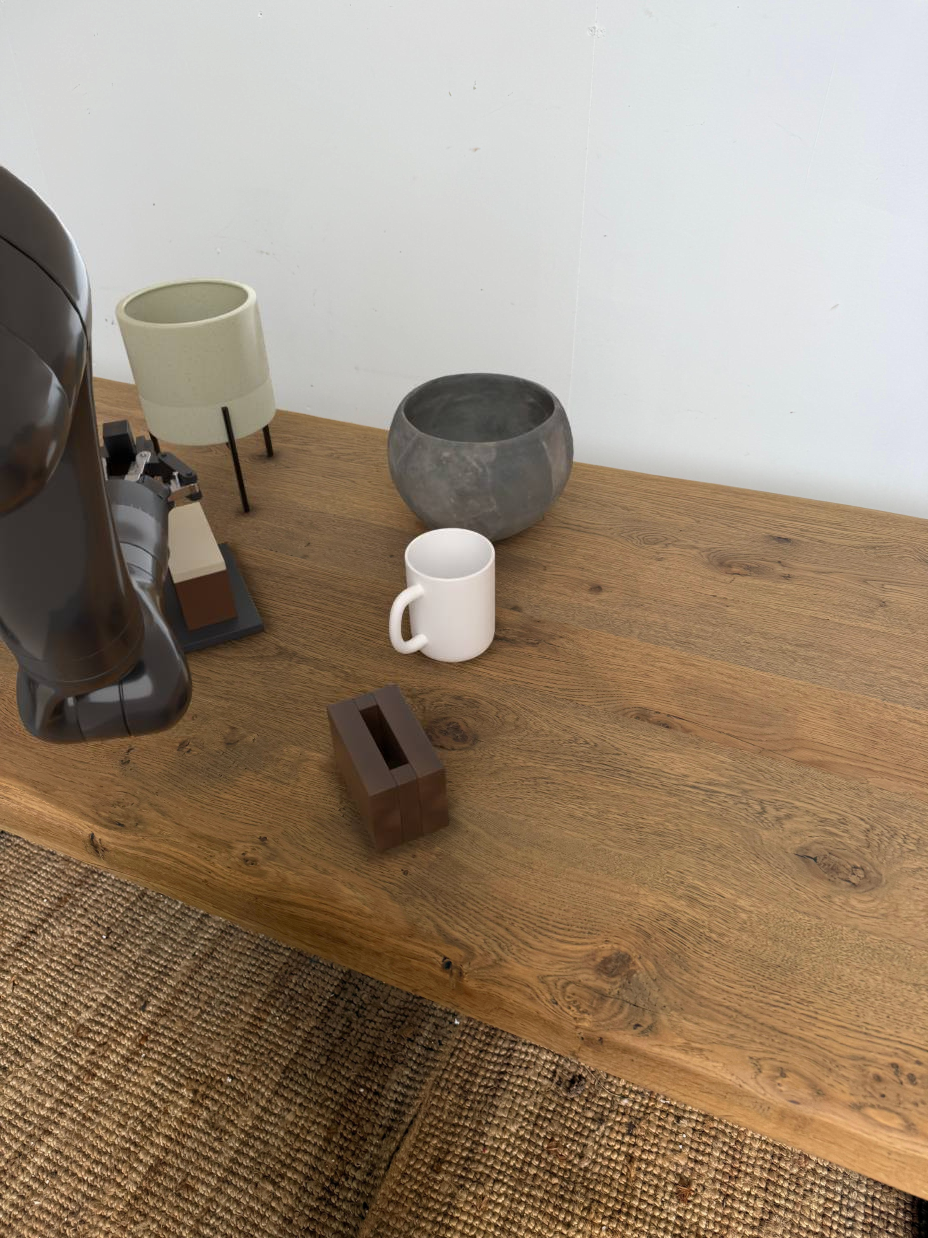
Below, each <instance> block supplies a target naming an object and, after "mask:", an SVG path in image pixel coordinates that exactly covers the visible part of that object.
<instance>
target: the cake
mask: <svg viewBox="0 0 928 1238" xmlns="http://www.w3.org/2000/svg"><path fill="white" fill-rule="evenodd" d="M168 545H169V548H170V558H169V561H168V570H167V575H166V579H165V589H164V604H165V614H166V618H167V621H168V623H169V625H170V626H171V628H172V630H173V632H174V634H175V635H176V637H177V639H178V641H179V643H180V645H181V647H182V649H183V651H184V654H185V655H186V654H190V653H192V652H196V651H200V650H203V649H206V648H209V647H213V646H217V645H219V644H222V643H226V642H230V641H233V640H236V639H240V638H244V637H246V636H250V635H253V634H256V633H260V632H264V631H265V628H264V622H263V620H262V618H261V616H260V613H259V611H258V609H257V607H256V605H255V602H254V600H253V598H252V595H251V593H250V591H249V589H248V587H247V584H246V582H245V580H244V578H243V575H242V573H241V571H240V569H239V566H238V564H237V562H236V560H235V557H234V555H233V553H232V550H231V548H230V546H229V543H228V542H227V541H224V542H221V543H217V541H216V539H215V536H214V533H213V532H212V529H211V527H210V524H209V522H208V519H207V517H206V514H205V513H204V510H203V507H202V505H201V503H200V501H195V502H192V503H188V504H185V505H184V504H183V505H180V506H176V507H174V508H173V509H172V510H171V511H170V512H169V533H168Z"/></svg>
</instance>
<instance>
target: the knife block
mask: <svg viewBox="0 0 928 1238" xmlns="http://www.w3.org/2000/svg"><path fill="white" fill-rule="evenodd" d="M325 708H326V712H327V719H328V724H329V729H330V730H329V731H330V735H331V741H332V746H333V752H334V757H335V758H334V759H335V763H336V766H337V768H338V770H339V772H340V775H341V777H342V779H343V781H344V784H345V785H346V788H347V790H348V792H349V795H350V797H351V799H352V801H353V803H354V805H355V808H356V810H357V812H358V815H359V816H360V818H361V821H362V823H363V825H364V828H365V830H366V832H367V834H368V836H369V839H370V841H371V842H372V845H373V847H374V850H375V852H376V854H380V853H382V852H385V851H388V850H390V849H393V848H396V847H398V846H400V845H403V844H406V843H408V842H410V841H413V840H416V839H418V838H421V837H422V836H426V835H429V834H431V833H433V832H437V831H439V830H442V829H444V828H447V827H449V813H448V812H449V811H448V795H447V775H446V767H445V765H444V764H443V762H442V760H441V758H440V756H439V754H438V753H437V751H436V749H435V747H434V746H433V744H432V742H431V741H430V739H429V738H428V736H427V734H426V733H425V731H424V729H423V727H422V725H421V724H420V722H419V720H418V719H417V717H416V715H415V714H414V712H413V710H412V709H411V707H410V705H409V703H408V701H407V700H406V698H405V696H404V695H403V693H402V691H401V690H400V688H399V686H398V684H397V683H393V684H390V685H386V686H384V687H380V688H378V689H375V690H372V691H369V692H365V693H363V694H360V695H357V696H353V697H351V698H348V699H345V700H341V701H338V702H335V703H333V704H330V705H326V707H325Z"/></svg>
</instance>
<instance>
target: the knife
mask: <svg viewBox="0 0 928 1238" xmlns="http://www.w3.org/2000/svg"><path fill="white" fill-rule="evenodd" d="M101 435H102V441H103V443H104V444H105V447H106V450H107V453H108V456H109V459H110V462H111V465H112V468H113V471H114V474H115V476H122V475H126V474H128V471H129V468H130V465H131V462H132V461H135V459H136V453H135V448H136V441H135V439H134V436H133V432H132V429H131V425H130V423H129V420H128V419H121V420H115V421H109V422H103V423H102V433H101Z"/></svg>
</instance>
